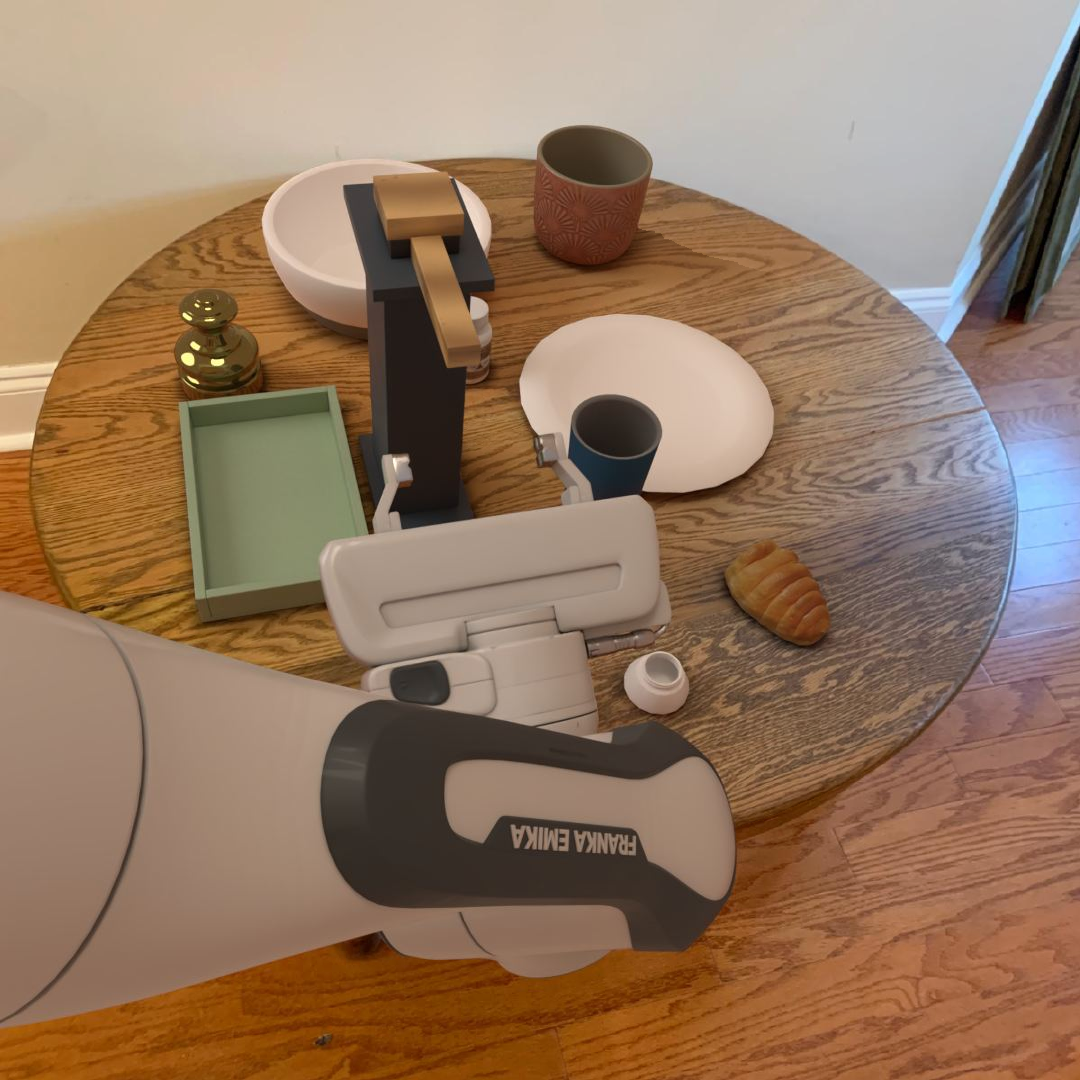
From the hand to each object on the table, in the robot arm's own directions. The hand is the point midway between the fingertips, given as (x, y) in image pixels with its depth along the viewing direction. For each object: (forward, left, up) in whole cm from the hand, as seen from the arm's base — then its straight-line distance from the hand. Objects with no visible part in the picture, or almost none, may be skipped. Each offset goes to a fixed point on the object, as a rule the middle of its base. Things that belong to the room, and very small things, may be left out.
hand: (472, 445), depth 59 cm
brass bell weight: (-15, +33, -23) cm, 43 cm away
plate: (+24, +23, -23) cm, 40 cm away
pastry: (+27, -1, -23) cm, 35 cm away
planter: (+26, +50, -23) cm, 61 cm away
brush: (0, +11, +3) cm, 12 cm away
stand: (0, +17, -23) cm, 28 cm away
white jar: (+14, -7, -23) cm, 28 cm away
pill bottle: (+8, +31, -23) cm, 39 cm away
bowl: (+2, +45, -23) cm, 51 cm away
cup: (+13, +7, -23) cm, 27 cm away
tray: (-12, +17, -23) cm, 31 cm away
